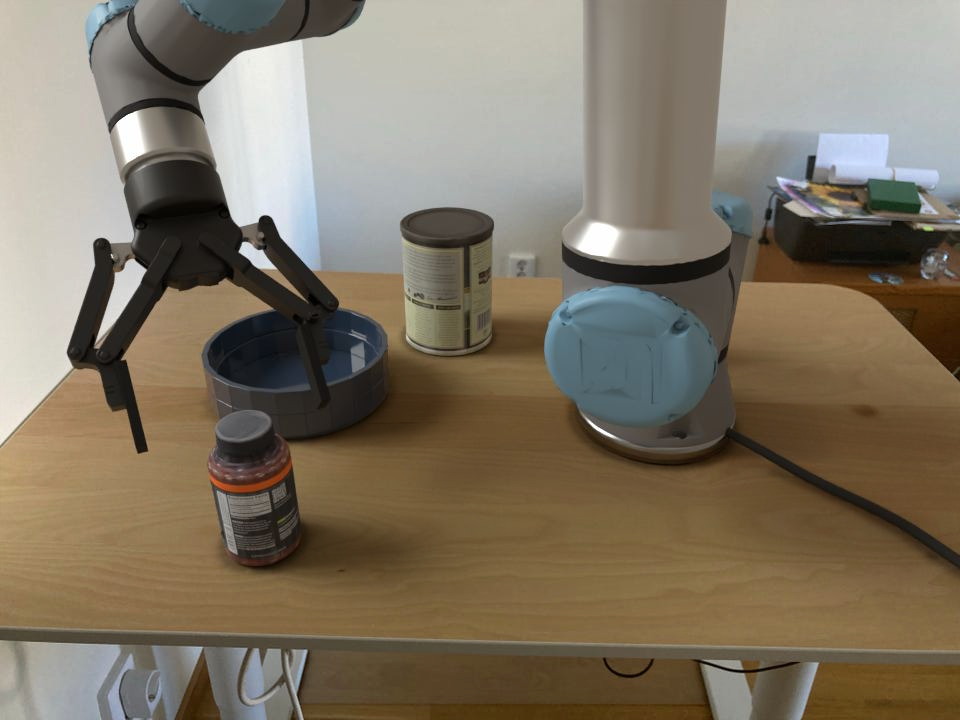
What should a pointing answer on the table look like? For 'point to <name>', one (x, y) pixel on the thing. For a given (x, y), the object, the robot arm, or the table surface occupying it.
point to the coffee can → (447, 280)
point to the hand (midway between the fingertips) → (237, 426)
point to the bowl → (297, 372)
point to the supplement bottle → (254, 489)
